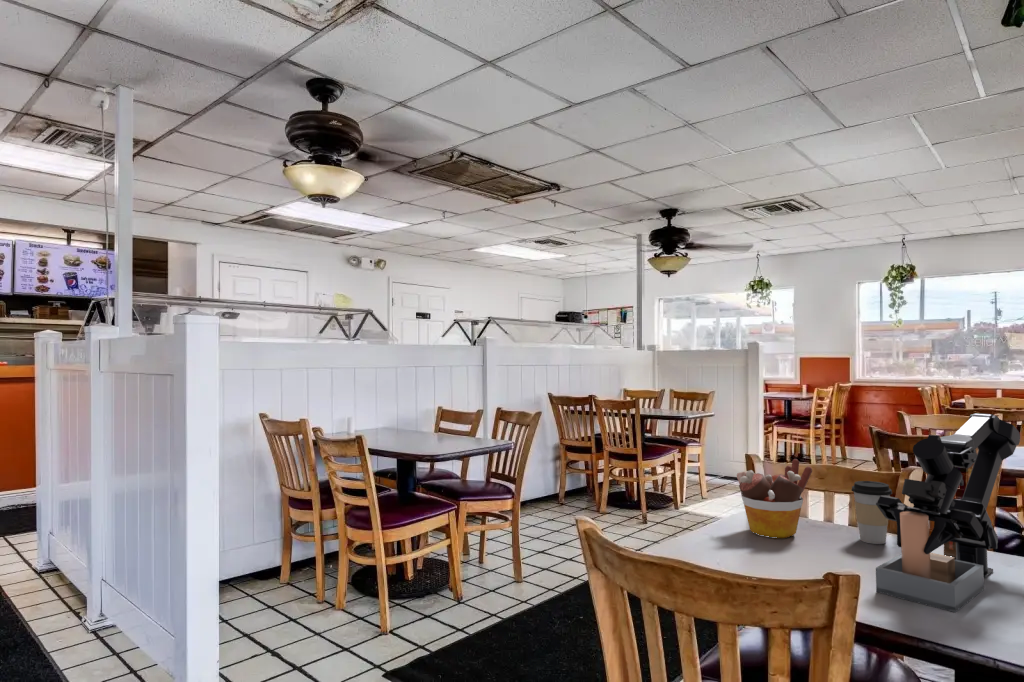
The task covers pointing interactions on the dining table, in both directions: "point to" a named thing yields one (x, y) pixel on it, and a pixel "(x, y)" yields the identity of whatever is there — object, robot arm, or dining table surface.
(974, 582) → the tote
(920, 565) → the cylinder
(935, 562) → the cube
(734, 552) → the dining table surface
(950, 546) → the tin
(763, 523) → the bucket of meat
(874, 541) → the coffee cup
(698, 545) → the dining table surface
